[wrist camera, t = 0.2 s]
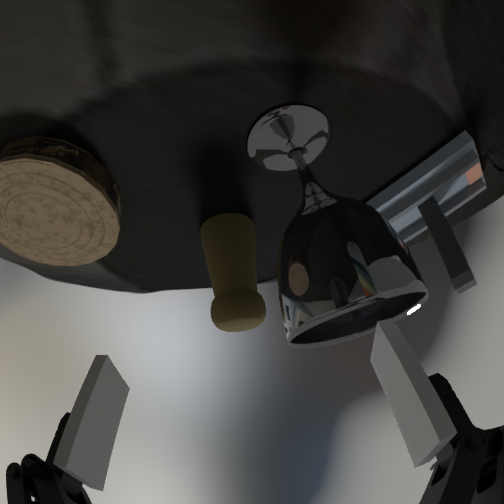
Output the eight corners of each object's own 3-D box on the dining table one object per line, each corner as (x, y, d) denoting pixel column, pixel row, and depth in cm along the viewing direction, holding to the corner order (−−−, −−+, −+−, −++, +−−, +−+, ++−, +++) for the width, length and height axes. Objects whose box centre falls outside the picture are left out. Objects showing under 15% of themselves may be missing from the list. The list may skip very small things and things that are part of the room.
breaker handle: (424, 215, 31) (459, 293, 25) (415, 203, 28) (454, 290, 23) (439, 205, 29) (477, 283, 24) (431, 192, 27) (474, 278, 21)
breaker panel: (384, 240, 38) (390, 256, 37) (345, 216, 32) (353, 235, 30) (479, 175, 27) (489, 190, 26) (465, 130, 21) (479, 147, 19)
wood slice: (128, 138, 19) (122, 162, 17) (122, 248, 31) (120, 270, 29) (-29, 137, 12) (-45, 160, 11) (9, 239, 25) (3, 260, 23)
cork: (256, 210, 28) (277, 314, 23) (253, 242, 34) (270, 332, 28) (196, 216, 28) (204, 323, 22) (203, 247, 33) (211, 339, 28)
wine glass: (255, 186, 25) (296, 355, 18) (228, 117, 18) (276, 330, 11) (337, 163, 24) (406, 320, 17) (333, 90, 17) (451, 273, 10)
